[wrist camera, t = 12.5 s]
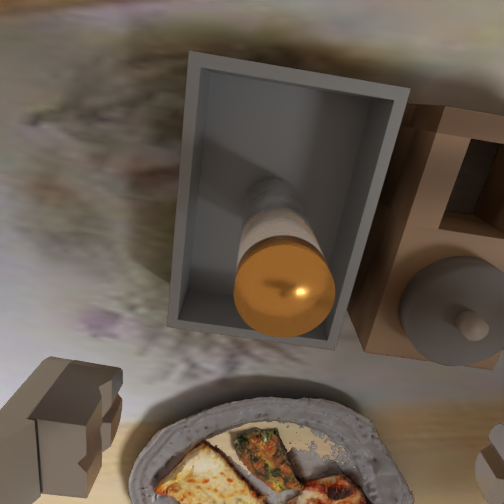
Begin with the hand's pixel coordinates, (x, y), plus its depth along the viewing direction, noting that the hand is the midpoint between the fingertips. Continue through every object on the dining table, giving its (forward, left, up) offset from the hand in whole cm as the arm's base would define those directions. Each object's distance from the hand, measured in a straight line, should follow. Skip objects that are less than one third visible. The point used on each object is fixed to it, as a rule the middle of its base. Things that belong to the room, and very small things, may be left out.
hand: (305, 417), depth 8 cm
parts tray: (0, 0, -18) cm, 18 cm away
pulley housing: (0, -10, -18) cm, 20 cm away
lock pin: (0, 0, -17) cm, 17 cm away
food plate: (-27, -4, -18) cm, 33 cm away
